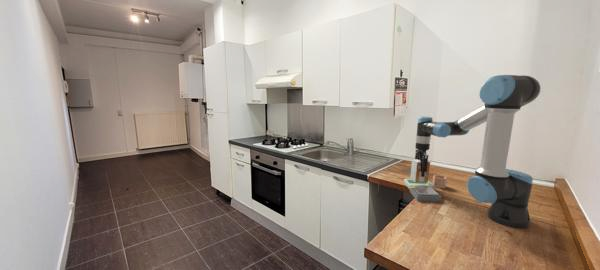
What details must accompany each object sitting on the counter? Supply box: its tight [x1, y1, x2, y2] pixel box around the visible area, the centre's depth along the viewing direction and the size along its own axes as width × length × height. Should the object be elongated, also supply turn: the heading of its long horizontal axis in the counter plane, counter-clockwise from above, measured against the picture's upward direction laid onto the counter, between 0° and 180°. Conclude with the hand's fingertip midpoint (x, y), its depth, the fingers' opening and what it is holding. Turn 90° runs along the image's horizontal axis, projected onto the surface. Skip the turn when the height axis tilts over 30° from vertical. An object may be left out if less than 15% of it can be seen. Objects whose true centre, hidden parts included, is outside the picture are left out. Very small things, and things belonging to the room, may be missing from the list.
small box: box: [409, 158, 431, 183], centre depth 150 cm, size 8×6×13 cm
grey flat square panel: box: [413, 186, 440, 196], centre depth 136 cm, size 10×10×1 cm
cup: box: [431, 174, 448, 189], centre depth 152 cm, size 7×7×6 cm
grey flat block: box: [409, 187, 442, 203], centre depth 137 cm, size 12×12×4 cm
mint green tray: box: [403, 178, 435, 190], centre depth 151 cm, size 11×14×2 cm
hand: (419, 179), depth 151 cm, fingers closed on small box, 7 cm apart
